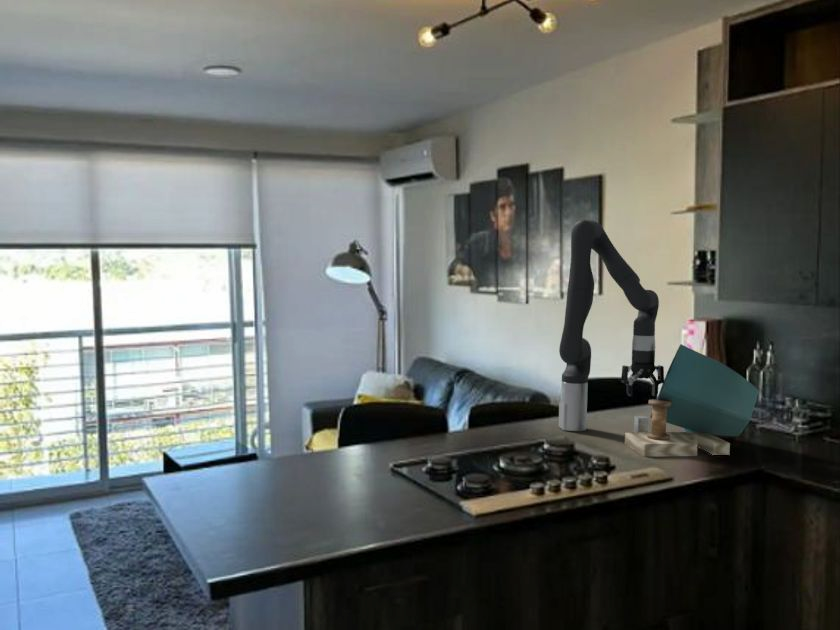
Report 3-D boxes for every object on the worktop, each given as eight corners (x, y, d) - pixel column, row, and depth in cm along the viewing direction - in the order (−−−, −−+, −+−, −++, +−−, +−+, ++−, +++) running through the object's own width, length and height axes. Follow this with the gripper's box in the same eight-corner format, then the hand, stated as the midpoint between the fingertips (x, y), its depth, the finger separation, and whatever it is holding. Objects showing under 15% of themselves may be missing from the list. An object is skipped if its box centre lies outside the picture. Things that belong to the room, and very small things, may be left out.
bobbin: (652, 440, 239) (654, 403, 239) (643, 435, 246) (645, 399, 246) (673, 440, 240) (675, 403, 239) (664, 435, 247) (665, 399, 246)
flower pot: (751, 425, 233) (662, 389, 241) (731, 452, 249) (648, 418, 258) (767, 375, 242) (680, 342, 251) (747, 404, 259) (666, 372, 267)
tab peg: (637, 441, 256) (638, 418, 255) (633, 439, 259) (634, 416, 258) (647, 441, 256) (648, 418, 255) (643, 438, 259) (644, 415, 259)
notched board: (644, 456, 235) (644, 443, 234) (624, 444, 251) (625, 432, 250) (729, 455, 238) (729, 443, 238) (704, 443, 254) (705, 431, 253)
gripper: (658, 347, 260) (657, 394, 261) (619, 347, 258) (617, 394, 259) (668, 349, 253) (666, 397, 254) (627, 349, 251) (626, 398, 252)
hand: (642, 395), depth 256 cm, fingers open, 8 cm apart
